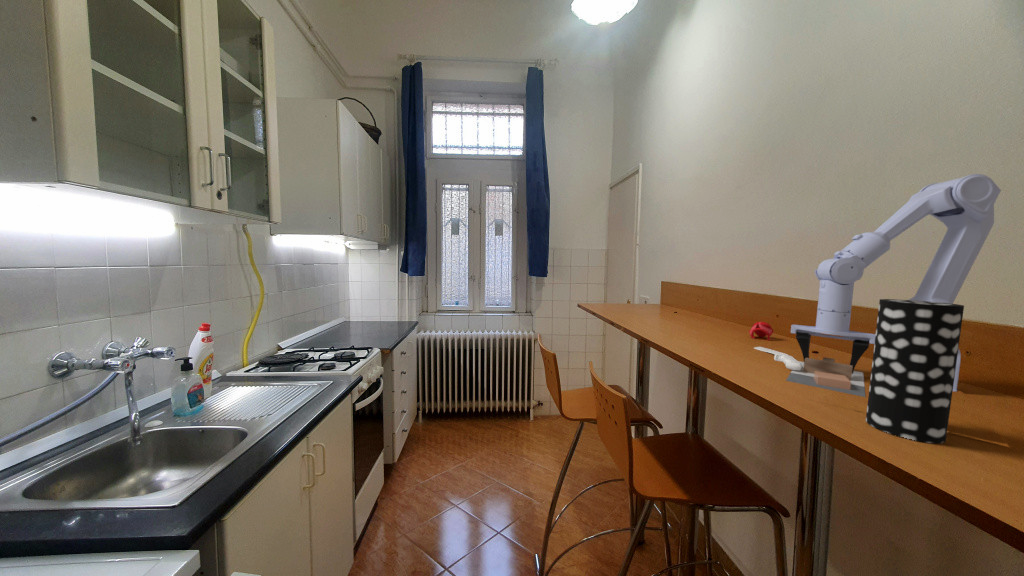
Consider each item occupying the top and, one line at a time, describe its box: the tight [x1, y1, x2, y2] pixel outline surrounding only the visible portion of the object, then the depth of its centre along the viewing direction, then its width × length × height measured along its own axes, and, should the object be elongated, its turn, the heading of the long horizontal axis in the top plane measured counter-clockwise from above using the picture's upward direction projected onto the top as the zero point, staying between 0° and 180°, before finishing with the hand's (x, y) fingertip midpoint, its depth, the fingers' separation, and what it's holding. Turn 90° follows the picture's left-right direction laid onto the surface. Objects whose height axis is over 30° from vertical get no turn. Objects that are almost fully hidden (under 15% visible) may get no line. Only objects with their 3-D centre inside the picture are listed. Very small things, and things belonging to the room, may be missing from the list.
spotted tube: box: [865, 298, 965, 444], centre depth 54 cm, size 8×8×20 cm
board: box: [785, 360, 866, 398], centre depth 79 cm, size 12×22×1 cm, turn 136°
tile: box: [814, 371, 851, 390], centre depth 74 cm, size 5×5×2 cm
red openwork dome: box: [748, 321, 774, 341], centre depth 119 cm, size 8×6×6 cm
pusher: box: [803, 356, 853, 381], centre depth 81 cm, size 8×6×3 cm
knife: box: [753, 346, 802, 371], centre depth 95 cm, size 30×2×8 cm
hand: (827, 368), depth 81 cm, fingers open, 7 cm apart
